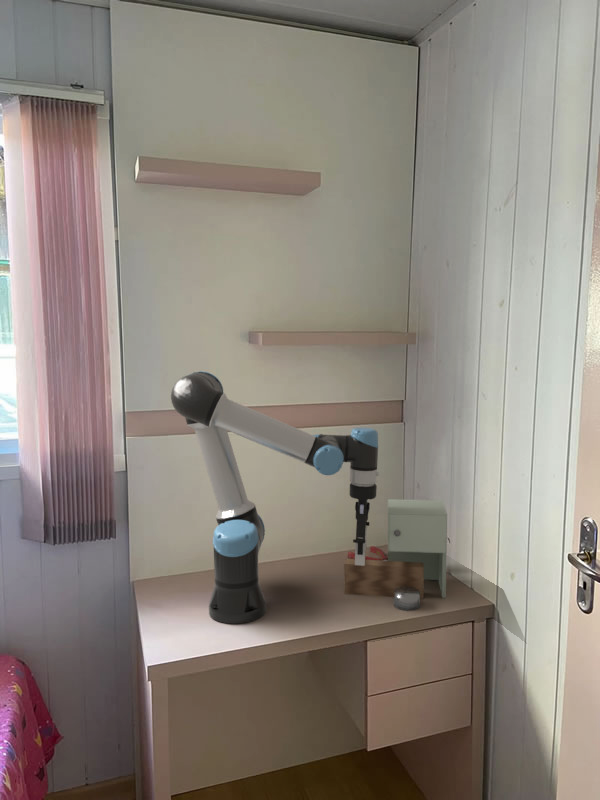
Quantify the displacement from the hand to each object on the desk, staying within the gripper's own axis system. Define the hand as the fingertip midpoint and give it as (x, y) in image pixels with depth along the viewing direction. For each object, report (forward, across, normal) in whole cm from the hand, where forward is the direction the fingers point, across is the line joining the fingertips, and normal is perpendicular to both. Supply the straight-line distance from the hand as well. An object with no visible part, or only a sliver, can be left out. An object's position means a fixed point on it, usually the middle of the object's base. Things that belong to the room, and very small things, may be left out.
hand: (360, 556), depth 184 cm
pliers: (+11, +23, -3) cm, 26 cm away
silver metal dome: (+10, -8, -13) cm, 18 cm away
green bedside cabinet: (+10, +5, -16) cm, 19 cm away
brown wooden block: (+10, 0, -7) cm, 12 cm away
